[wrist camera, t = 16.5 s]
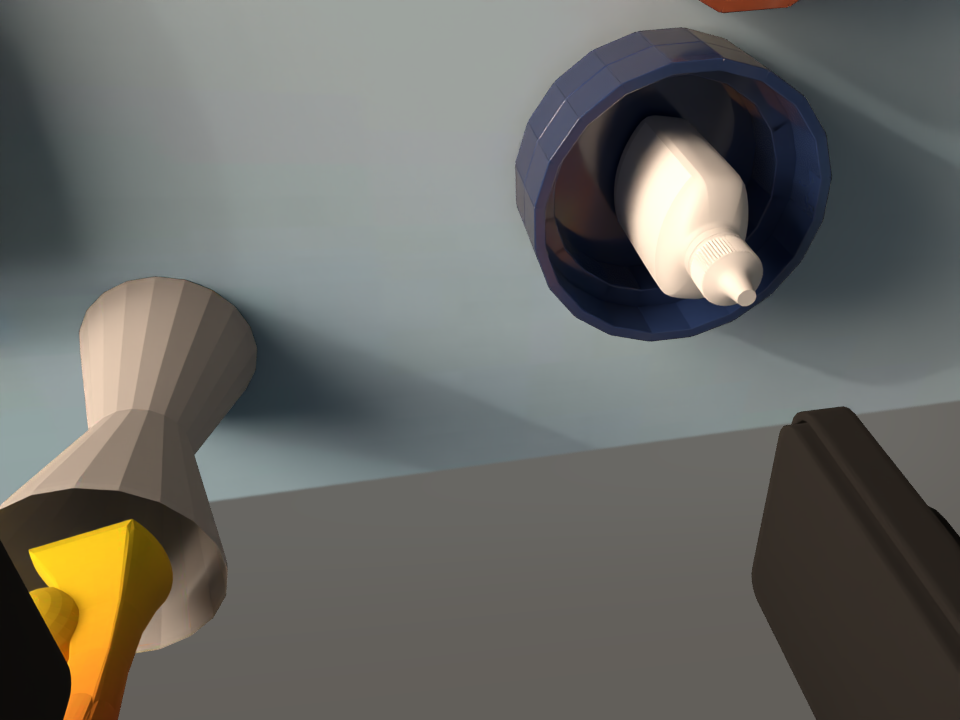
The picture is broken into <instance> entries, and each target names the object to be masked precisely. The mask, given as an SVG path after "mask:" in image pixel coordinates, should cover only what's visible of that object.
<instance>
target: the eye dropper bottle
mask: <svg viewBox="0 0 960 720" xmlns="http://www.w3.org/2000/svg"><path fill="white" fill-rule="evenodd" d="M614 203H615V211H616V216H617V220H618V222H619V224H620V225H621V227H622V229H623V230H624V232H625V234H626V235H627V237H628V239H629V240H630V242H631V243H632V245H633V247H634V248H635V250H636V252H637V253H638V255H639V257H640V258H641V260H642V261H643V263H644V265H645V266H646V268H647V270H648V271H649V273H650V274H651V276H652V277H653V279H654V280H655V282H656V283H657V285H658V286H659V288H660V289H661V291H662V292H663V293H664V294H666V295H669V296H671V297H676V298H685V299H700V298H704V297H705V298H706V299H707V300H708V301H709V302H711V303H714V304H716V305H720V306H728V305H729V306H730V305H734V304H737V303H738V304H739V305H741V306H748V305H750V304H752V303H753V302H754V301H755V299H756V293H755V290H756V289H757V288H758V286H759V284H760V282H761V279H762V275H763V268H762V266H763V265H762V263H761V260H760V259H759V257H758V256H757V255H756V254H755V253H754V252H753V250H752V249H751V248H750V247H749V246H748V244H747V243H746V242H745V238H746V233H747V227H748V199H747V192H746V188H745V184H744V183H743V181H742V179H741V177H740V176H739V175H738V173H737V172H736V171H735V170H734V169H733V168H732V167H731V165H730V164H729V163H728V162H727V161H726V160H725V159H724V158H723V157H722V156H721V155H720V154H719V153H718V152H717V151H716V150H715V149H714V148H713V147H712V146H711V145H710V144H709V143H708V141H707V140H706V139H705V138H704V137H703V136H702V135H701V134H700V133H699V132H698V131H697V130H696V129H695V128H694V127H693V126H692V125H691V124H690V123H689V122H688V121H686V120H684V119H682V118H676V117H667V116H657V115H653V116H648V117H646V118H645V119H644V120H642V121H641V122H640V124H639V125H638V126H637V128H636V129H635V130H634V132H633V134H632V135H631V137H630V139H629V140H628V142H627V144H626V146H625V148H624V150H623V153H622V155H621V158H620V161H619V164H618V167H617V172H616V177H615V184H614Z"/></svg>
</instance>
